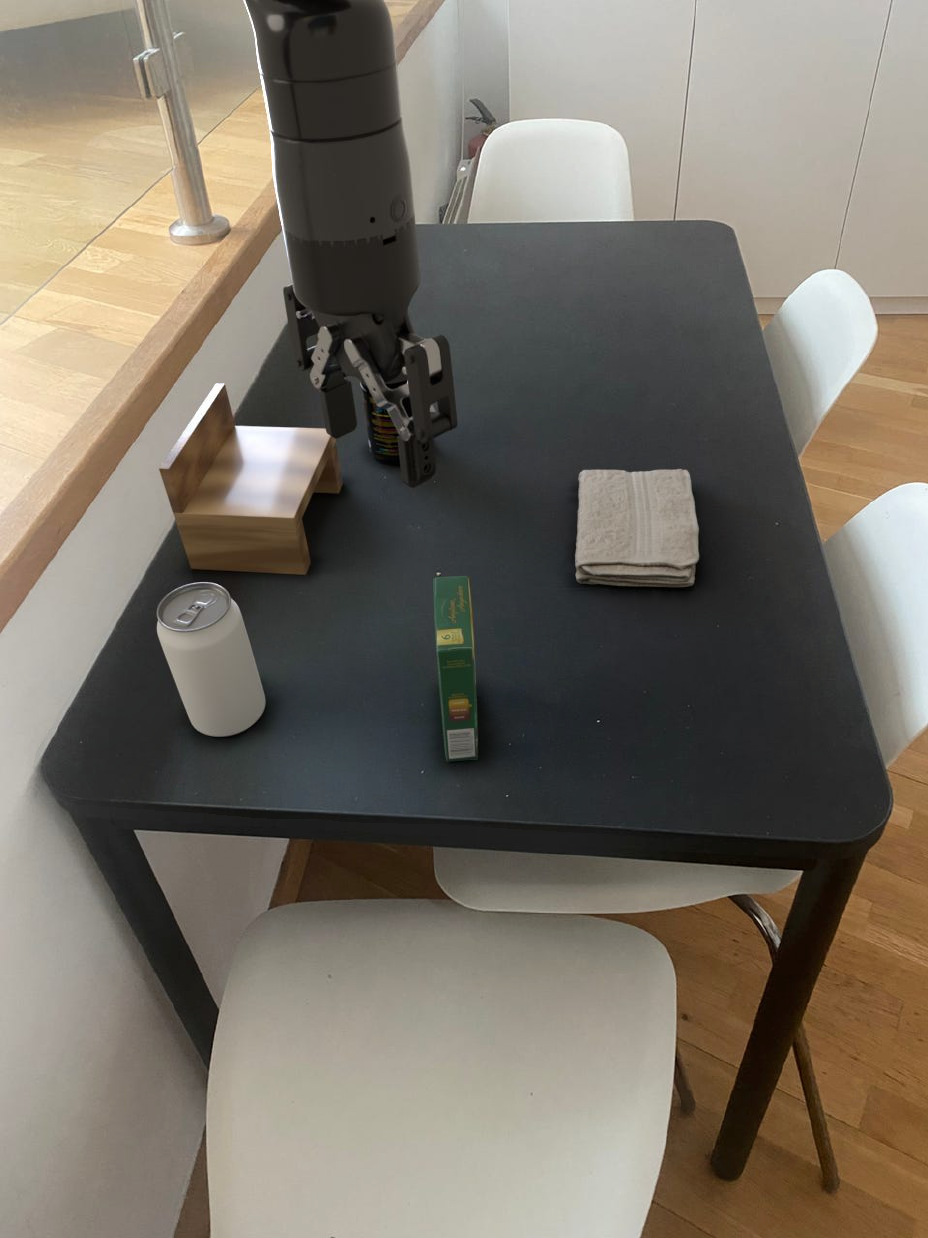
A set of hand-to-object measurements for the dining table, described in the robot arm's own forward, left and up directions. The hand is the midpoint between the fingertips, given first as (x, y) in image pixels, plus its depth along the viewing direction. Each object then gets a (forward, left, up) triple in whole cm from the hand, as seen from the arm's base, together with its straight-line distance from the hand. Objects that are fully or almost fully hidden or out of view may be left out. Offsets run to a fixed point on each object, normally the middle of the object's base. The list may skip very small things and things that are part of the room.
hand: (379, 456), depth 63 cm
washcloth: (+19, +24, -24) cm, 39 cm away
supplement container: (-8, +38, -24) cm, 45 cm away
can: (-15, -4, -24) cm, 28 cm away
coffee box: (+5, -3, -24) cm, 25 cm away
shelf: (-19, +23, -24) cm, 38 cm away
